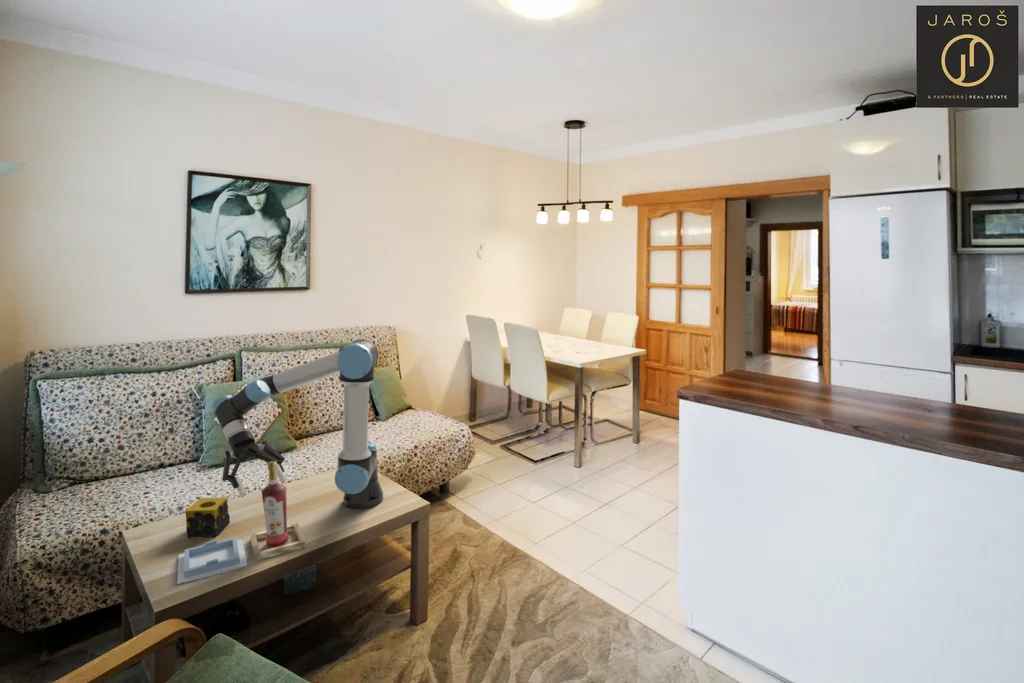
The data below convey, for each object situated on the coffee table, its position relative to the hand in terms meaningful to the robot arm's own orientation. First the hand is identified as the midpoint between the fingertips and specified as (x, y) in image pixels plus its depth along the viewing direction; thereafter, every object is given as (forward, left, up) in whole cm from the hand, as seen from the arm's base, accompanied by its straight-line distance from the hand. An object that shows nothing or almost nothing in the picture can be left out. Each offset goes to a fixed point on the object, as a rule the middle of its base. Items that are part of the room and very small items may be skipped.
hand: (264, 488), depth 171 cm
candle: (+24, -8, -19) cm, 31 cm away
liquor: (-4, +2, -19) cm, 19 cm away
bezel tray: (+12, +12, -18) cm, 25 cm away
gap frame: (-4, +2, -18) cm, 19 cm away
